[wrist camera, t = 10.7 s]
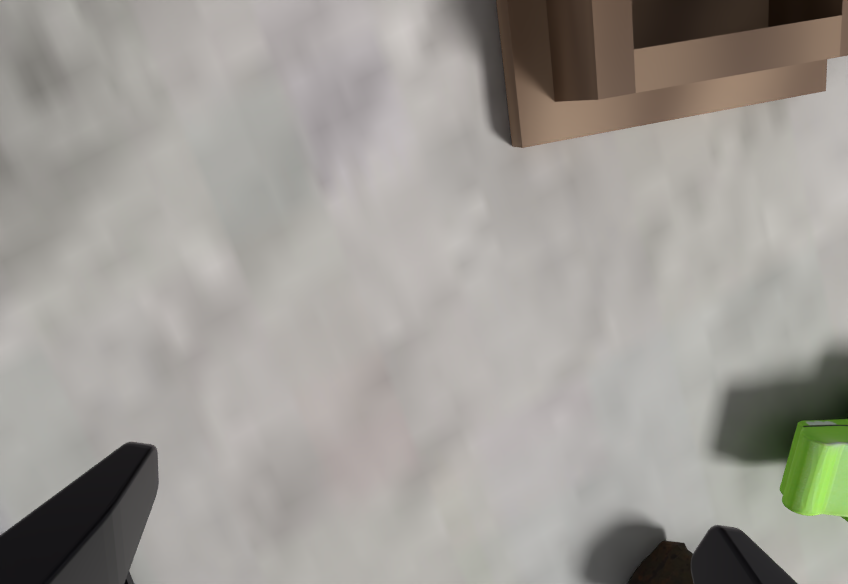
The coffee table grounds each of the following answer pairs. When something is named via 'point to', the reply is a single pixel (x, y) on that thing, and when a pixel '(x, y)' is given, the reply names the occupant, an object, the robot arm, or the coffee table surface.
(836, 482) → the toy crocodile
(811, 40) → the walnut box
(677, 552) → the hand tool
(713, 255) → the coffee table surface
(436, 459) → the coffee table surface
